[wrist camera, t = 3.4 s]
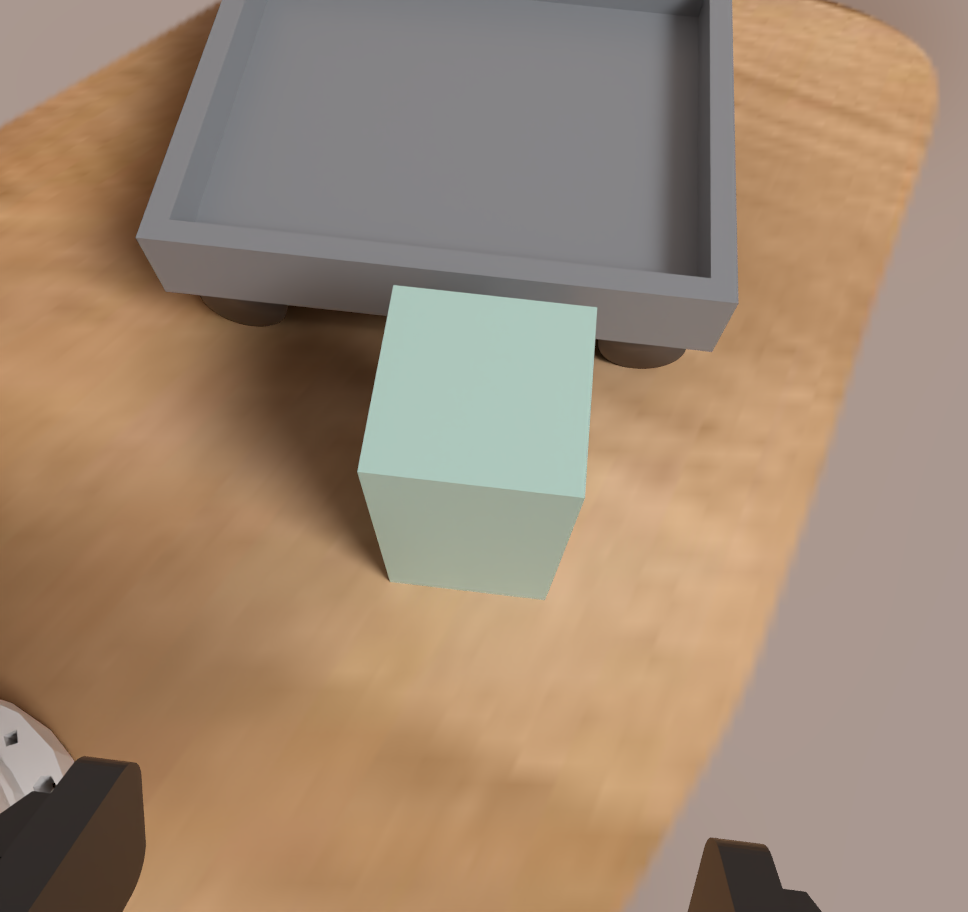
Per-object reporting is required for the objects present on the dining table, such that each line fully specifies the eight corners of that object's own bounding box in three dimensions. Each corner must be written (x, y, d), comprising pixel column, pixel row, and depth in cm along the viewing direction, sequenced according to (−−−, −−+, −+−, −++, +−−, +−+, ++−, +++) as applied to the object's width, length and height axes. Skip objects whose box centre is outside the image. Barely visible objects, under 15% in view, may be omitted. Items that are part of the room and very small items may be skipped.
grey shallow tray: (193, 340, 29) (135, 237, 24) (282, 51, 35) (251, -81, 30) (688, 396, 29) (738, 303, 24) (691, 94, 35) (731, -33, 30)
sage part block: (390, 581, 26) (357, 471, 18) (412, 441, 28) (393, 284, 20) (545, 599, 26) (584, 497, 18) (557, 458, 28) (597, 307, 20)
